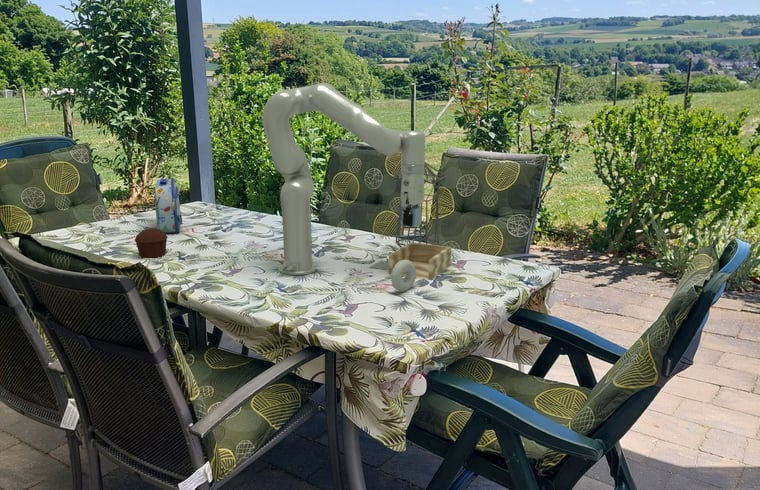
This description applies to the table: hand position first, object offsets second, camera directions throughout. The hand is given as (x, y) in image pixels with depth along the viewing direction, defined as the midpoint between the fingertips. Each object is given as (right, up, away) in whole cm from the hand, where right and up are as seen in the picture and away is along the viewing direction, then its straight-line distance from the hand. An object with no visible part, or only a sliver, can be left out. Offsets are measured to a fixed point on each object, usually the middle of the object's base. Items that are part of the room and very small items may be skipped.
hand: (411, 223), depth 222 cm
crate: (+3, -16, +6) cm, 17 cm away
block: (0, 0, 0) cm, 1 cm away
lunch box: (-100, -1, +63) cm, 119 cm away
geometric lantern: (+4, -11, +26) cm, 28 cm away
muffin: (-94, -11, +23) cm, 97 cm away
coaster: (-8, -15, +10) cm, 19 cm away
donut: (-3, -22, -15) cm, 26 cm away
